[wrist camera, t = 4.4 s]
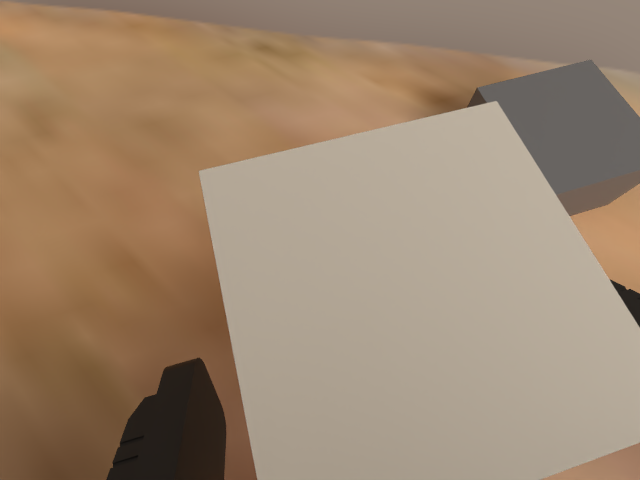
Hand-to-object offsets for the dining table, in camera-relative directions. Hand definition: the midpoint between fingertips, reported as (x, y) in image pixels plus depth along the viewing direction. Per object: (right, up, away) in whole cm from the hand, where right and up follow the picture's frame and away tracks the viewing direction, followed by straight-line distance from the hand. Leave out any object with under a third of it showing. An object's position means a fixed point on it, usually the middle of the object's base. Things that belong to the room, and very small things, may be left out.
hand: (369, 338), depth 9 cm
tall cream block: (0, -3, +6) cm, 7 cm away
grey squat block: (+10, +6, +10) cm, 16 cm away
